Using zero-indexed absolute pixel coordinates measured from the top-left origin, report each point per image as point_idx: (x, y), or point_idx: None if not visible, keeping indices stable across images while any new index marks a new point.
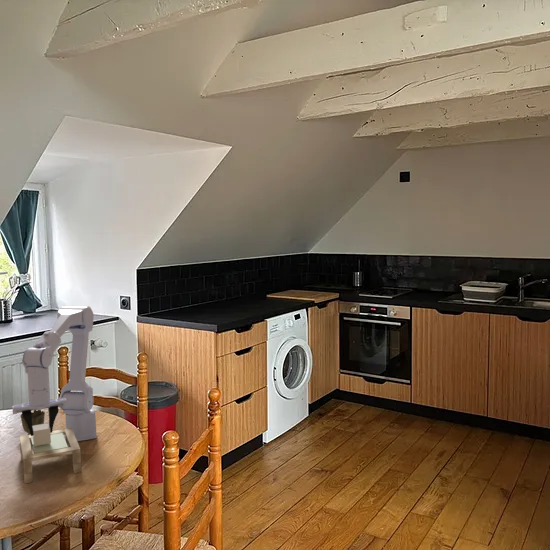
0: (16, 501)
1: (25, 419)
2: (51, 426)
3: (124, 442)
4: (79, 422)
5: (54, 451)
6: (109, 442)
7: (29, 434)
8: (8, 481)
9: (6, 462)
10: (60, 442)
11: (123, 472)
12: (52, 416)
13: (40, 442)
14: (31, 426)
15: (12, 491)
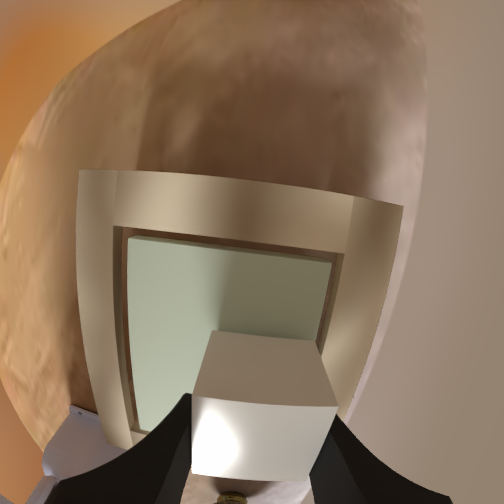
0: (396, 81)
1: (425, 491)
2: (176, 419)
3: (8, 326)
4: (89, 462)
5: (214, 211)
6: (39, 356)
7: (244, 501)
8: (395, 257)
9: (350, 405)
10: (156, 332)
11: (40, 105)
12: (134, 480)
13: (277, 345)
14: (346, 451)
15: (401, 162)
